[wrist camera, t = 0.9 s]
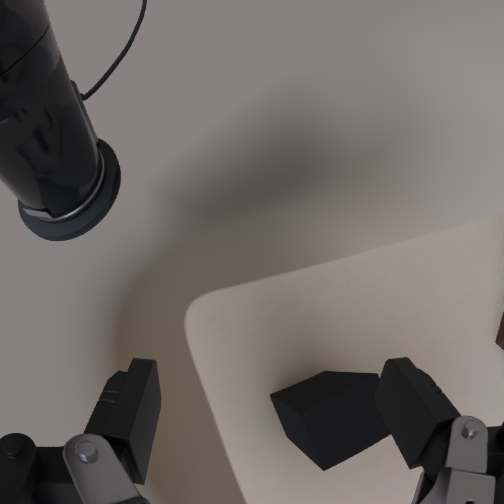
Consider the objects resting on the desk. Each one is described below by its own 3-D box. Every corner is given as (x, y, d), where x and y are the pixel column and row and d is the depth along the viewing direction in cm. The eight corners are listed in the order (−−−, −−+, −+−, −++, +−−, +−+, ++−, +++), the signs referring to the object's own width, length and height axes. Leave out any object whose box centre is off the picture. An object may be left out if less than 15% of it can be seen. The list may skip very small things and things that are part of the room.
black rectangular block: (269, 394, 24) (299, 412, 15) (325, 370, 25) (378, 372, 16) (287, 437, 23) (323, 471, 14) (341, 411, 24) (397, 430, 15)
